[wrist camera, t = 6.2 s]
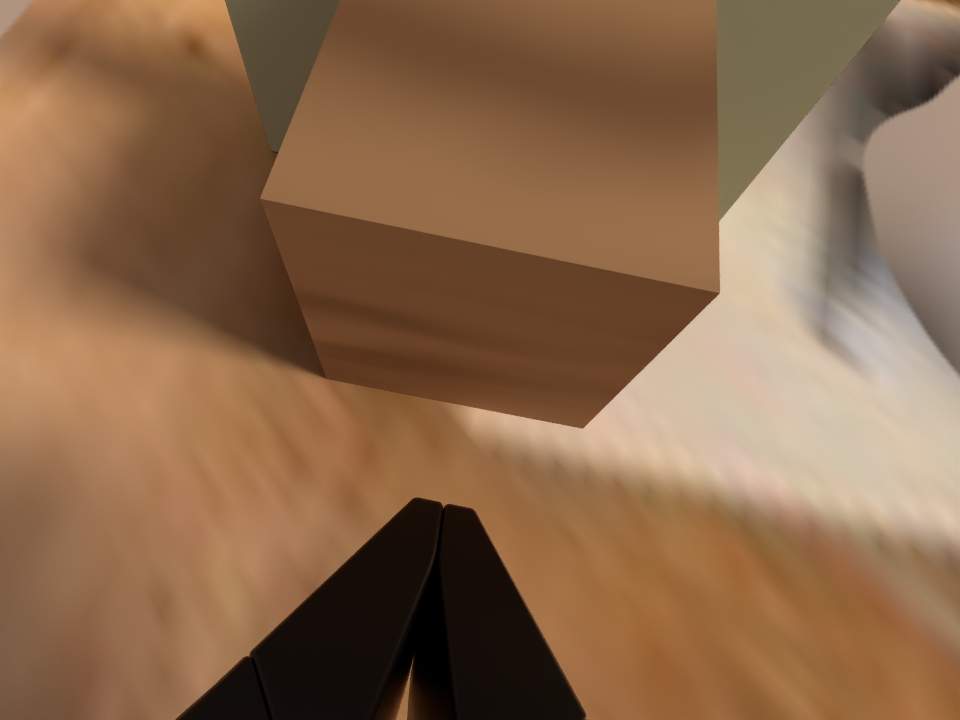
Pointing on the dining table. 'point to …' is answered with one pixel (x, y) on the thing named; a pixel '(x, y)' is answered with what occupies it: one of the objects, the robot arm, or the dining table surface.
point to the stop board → (740, 67)
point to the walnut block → (503, 196)
